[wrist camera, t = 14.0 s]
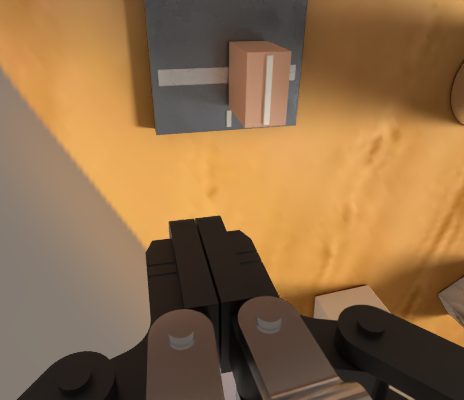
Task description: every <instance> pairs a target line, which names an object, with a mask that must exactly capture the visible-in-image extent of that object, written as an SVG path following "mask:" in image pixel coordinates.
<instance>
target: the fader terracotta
mask: <svg viewBox="0 0 464 400" xmlns="http://www.w3.org/2000/svg"><path fill="white" fill-rule="evenodd" d="M291 53H292V51H290V50H287V49H285V48H283V47H281V46H278V45H276V44H274V43H271V42H269V41H237V42H229V109H230V110H231V111H232V113H233V114H234V115H235V116H236V117H237V119H238V120H239V121H240V122H241V124H242V125H243V126H244V127H245V128H252V127H267V126H281V125H286V114H287V101H288V89H289V77H290V65H291Z"/></svg>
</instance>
